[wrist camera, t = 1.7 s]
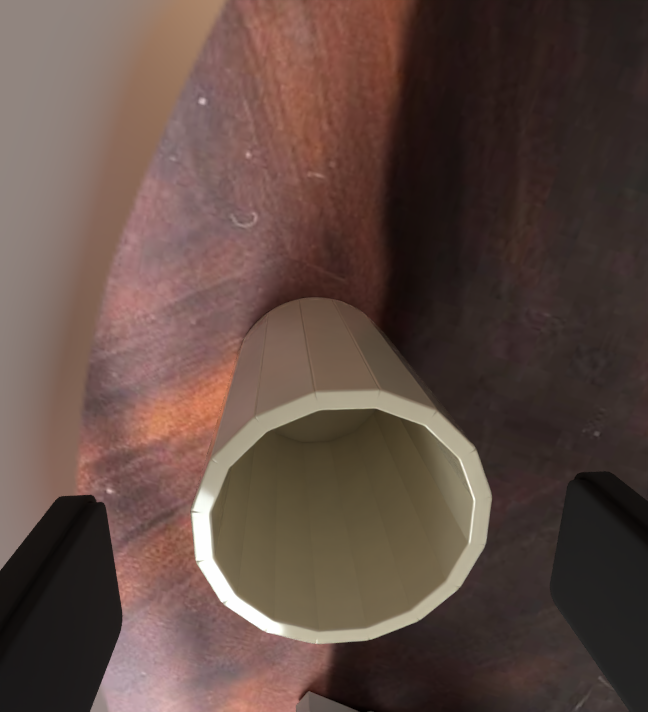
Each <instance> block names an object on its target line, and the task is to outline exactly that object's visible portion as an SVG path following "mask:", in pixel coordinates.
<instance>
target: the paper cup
mask: <svg viewBox="0 0 648 712" xmlns="http://www.w3.org/2000/svg"><path fill="white" fill-rule="evenodd" d="M491 502H492V493H491V490H490V487H489V484H488V481H487V478H486V475H485V472H484V469H483V466H482V463H481V460H480V457H479V455H478V452H477V449H476V448H475V446H474V445H473V443H472V442H471V441H470V440H469V438H468V437H467V436H466V435H465V433H464V432H463V431H462V430H461V428H460V427H459V426H458V425H457V423H456V422H455V421H454V420H453V418H452V417H451V416H450V415H449V413H448V412H447V411H446V410H445V408H444V407H443V406H442V405H441V403H440V402H439V401H438V400H437V398H436V397H435V396H434V395H433V393H432V392H431V391H430V389H429V388H428V387H427V386H426V384H425V383H424V382H423V381H422V379H421V378H420V377H419V376H418V374H417V373H416V372H415V371H414V369H413V368H412V367H411V366H410V364H409V363H408V362H407V361H406V359H405V358H404V357H403V356H402V354H401V353H400V352H399V351H398V349H397V348H396V347H395V346H394V344H393V343H392V342H391V341H390V339H389V338H388V337H387V336H386V334H385V333H384V332H383V331H382V330H381V329H380V328H379V327H378V326H377V325H376V324H375V323H374V322H373V320H372V319H370V318H369V317H368V316H367V315H366V314H365V313H364V312H362V311H360V310H359V309H357V308H356V307H354V306H352V305H349V304H347V303H345V302H342V301H339V300H335V299H330V298H321V297H311V298H302V299H297V300H293V301H290V302H287V303H284V304H282V305H280V306H278V307H276V308H274V309H272V310H271V311H270V312H268V313H267V314H265V315H264V316H263V317H262V318H261V319H259V320H258V321H257V322H256V323H255V325H254V326H253V327H252V328H251V329H250V331H249V332H248V334H247V335H246V336H245V338H244V340H243V342H242V345H241V347H240V350H239V353H238V356H237V358H236V361H235V363H234V366H233V370H232V373H231V376H230V380H229V383H228V386H227V390H226V393H225V396H224V400H223V403H222V406H221V410H220V413H219V416H218V420H217V423H216V426H215V429H214V433H213V436H212V439H211V443H210V446H209V449H208V453H207V456H206V459H205V463H204V466H203V469H202V473H201V476H200V479H199V483H198V486H197V489H196V493H195V496H194V499H193V503H192V506H191V512H190V513H191V523H192V533H193V543H194V553H195V560H196V563H197V565H198V566H199V568H200V569H201V571H202V572H203V574H204V576H205V577H206V579H207V580H208V582H209V584H210V585H211V587H212V588H213V590H214V591H215V593H216V595H217V596H218V598H219V599H220V601H221V602H222V603H223V604H224V605H225V606H227V607H228V608H230V609H231V610H233V611H234V612H236V613H237V614H239V615H240V616H242V617H243V618H244V619H246V620H247V621H249V622H250V623H252V624H253V625H255V626H256V627H258V628H259V629H261V630H262V631H265V632H267V633H271V634H275V635H279V636H283V637H287V638H292V639H296V640H300V641H304V642H308V643H312V644H315V643H316V644H327V643H341V642H354V641H367V640H369V639H370V640H372V639H374V638H377V637H379V636H382V635H385V634H387V633H390V632H392V631H395V630H397V629H400V628H403V627H405V626H408V625H410V624H413V623H415V622H418V620H421V619H422V618H424V617H425V616H426V615H427V614H429V613H430V612H431V611H432V610H433V609H435V608H436V607H437V606H438V605H440V604H441V603H442V602H443V601H445V600H446V599H447V598H448V597H450V596H451V595H452V594H453V593H454V592H456V591H457V590H458V589H459V587H461V585H462V584H463V582H464V580H465V579H466V577H467V575H468V574H469V572H470V570H471V569H472V567H473V565H474V564H475V562H476V560H477V559H478V557H479V555H480V554H481V552H482V550H483V549H484V547H485V544H486V540H487V532H488V525H489V517H490V510H491Z"/></svg>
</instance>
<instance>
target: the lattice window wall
mask: <svg viewBox="0 0 648 712" xmlns="http://www.w3.org/2000/svg"><path fill="white" fill-rule="evenodd" d="M296 712H359V711H356V710H354V709H352V708H349V707H347V706H344V705H342V704H339V703H337V702H334V701H332V700H329V699H327V698H325V697H322V696H320V695H317V694H315V693H312V692H310V691H308V692H307V693H306V694H305V696H304V697H303V698H302V699H301V700H300V702H299V703H298V704H297V705H296ZM369 712H372V711H369Z"/></svg>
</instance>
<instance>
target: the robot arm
mask: <svg viewBox="0 0 648 712" xmlns="http://www.w3.org/2000/svg"><path fill="white" fill-rule="evenodd" d="M550 592H551V596H552V599H553V601H554V603H555V605H556V606H557V608H558V609H559V611H560V612H561V614H562V615H563V616H564V618H565V619H566V621H567V622H568V624H569V625H570V626H571V628H572V629H573V631H574V632H575V634H576V635H577V637H578V638H579V639H580V641H581V642H582V644H583V645H584V647H585V648H586V649H587V651H588V652H589V654H590V655H591V657H592V658H593V659H594V661H595V662H596V664H597V665H598V667H599V668H600V670H601V671H602V672H603V674H604V675H605V677H606V678H607V680H608V681H609V682H610V684H611V685H612V687H613V688H614V690H615V691H616V693H617V694H618V695H619V697H620V698H621V700H622V701H623V703H624V704H625V705H626V707H627V708H628V710H629V711H630V712H648V501H647V500H645V499H644V498H643V497H642V496H640V495H639V494H638V493H636V492H635V491H634V490H633V489H631V488H630V487H629V486H628V485H626V484H625V483H624V482H623V481H621V480H620V479H619V478H618V477H616V476H615V475H614V474H612V473H610V472H605V471H604V472H582V473H579V474H577V475H576V477H575V478H574V480H572V481H570V482H569V484H568V486H567V491H566V497H565V503H564V508H563V514H562V519H561V525H560V531H559V536H558V542H557V548H556V553H555V559H554V564H553V570H552V576H551V581H550ZM121 626H122V608H121V601H120V595H119V589H118V582H117V576H116V569H115V563H114V557H113V550H112V544H111V537H110V531H109V525H108V518H107V512H106V507H105V505H104V503H102V502H96V499H95V497H94V496H92V495H78V496H62V497H59V498H58V499H56V500H55V502H54V503H53V504H52V506H51V507H50V508H49V509H48V511H47V512H46V513H45V515H44V516H43V517H42V519H41V520H40V521H39V522H38V523H37V525H36V526H35V527H34V528H33V530H32V531H31V532H30V533H29V535H28V536H27V537H26V539H25V540H24V541H23V543H22V544H21V545H20V546H19V547H18V549H17V550H16V551H15V553H14V554H13V555H12V556H11V558H10V559H9V560H8V561H7V563H6V564H5V565H4V567H3V568H2V569H1V570H0V712H90V710H91V707H92V705H93V702H94V699H95V697H96V694H97V692H98V689H99V687H100V684H101V681H102V679H103V676H104V674H105V671H106V668H107V666H108V663H109V661H110V658H111V655H112V653H113V650H114V648H115V645H116V642H117V640H118V637H119V634H120V631H121Z"/></svg>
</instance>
